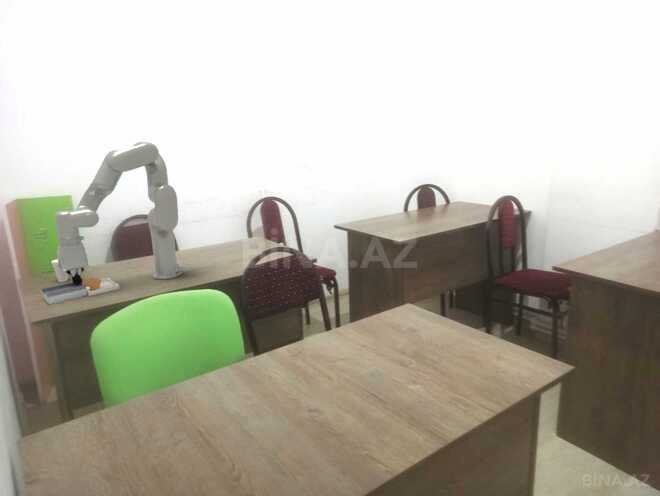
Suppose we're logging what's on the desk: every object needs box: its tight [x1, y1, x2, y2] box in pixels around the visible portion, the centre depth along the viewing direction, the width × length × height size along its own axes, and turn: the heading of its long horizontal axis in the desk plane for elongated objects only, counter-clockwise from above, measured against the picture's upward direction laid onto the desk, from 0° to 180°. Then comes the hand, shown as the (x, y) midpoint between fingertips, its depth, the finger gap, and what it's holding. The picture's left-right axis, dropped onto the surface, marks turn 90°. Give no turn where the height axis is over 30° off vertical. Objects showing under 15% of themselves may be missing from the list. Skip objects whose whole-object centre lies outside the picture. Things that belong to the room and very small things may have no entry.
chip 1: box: [80, 277, 93, 287], centre depth 200 cm, size 4×4×3 cm
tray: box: [86, 277, 121, 297], centre depth 204 cm, size 12×14×2 cm
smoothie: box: [50, 250, 69, 283], centre depth 215 cm, size 6×6×14 cm
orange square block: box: [90, 277, 101, 289], centre depth 202 cm, size 4×4×3 cm
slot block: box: [41, 281, 89, 305], centre depth 195 cm, size 14×10×4 cm
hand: (77, 284), depth 198 cm, fingers closed
